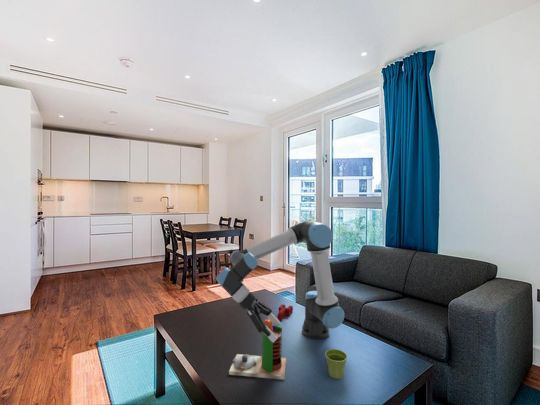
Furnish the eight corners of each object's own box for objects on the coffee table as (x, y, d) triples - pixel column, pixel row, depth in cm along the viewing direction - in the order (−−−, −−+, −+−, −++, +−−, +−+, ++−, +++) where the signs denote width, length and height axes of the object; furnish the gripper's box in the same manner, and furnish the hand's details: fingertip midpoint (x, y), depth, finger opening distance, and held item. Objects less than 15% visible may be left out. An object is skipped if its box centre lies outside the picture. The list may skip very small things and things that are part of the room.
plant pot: (331, 365, 127) (331, 346, 126) (350, 373, 121) (350, 354, 120) (321, 375, 119) (321, 355, 119) (341, 384, 113) (341, 364, 113)
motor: (279, 373, 118) (279, 327, 117) (259, 371, 120) (259, 325, 119) (283, 359, 128) (283, 317, 127) (264, 357, 130) (264, 315, 129)
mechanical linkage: (282, 310, 187) (282, 303, 187) (292, 312, 185) (292, 304, 184) (274, 320, 173) (274, 312, 172) (284, 322, 170) (284, 314, 170)
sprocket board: (286, 361, 129) (286, 351, 129) (284, 379, 117) (284, 369, 116) (236, 357, 133) (236, 347, 133) (229, 374, 120) (228, 364, 120)
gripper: (244, 293, 138) (274, 324, 136) (230, 314, 113) (267, 353, 111) (255, 283, 137) (285, 314, 135) (243, 302, 112) (280, 341, 110)
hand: (277, 332), depth 123 cm, fingers open, 13 cm apart
